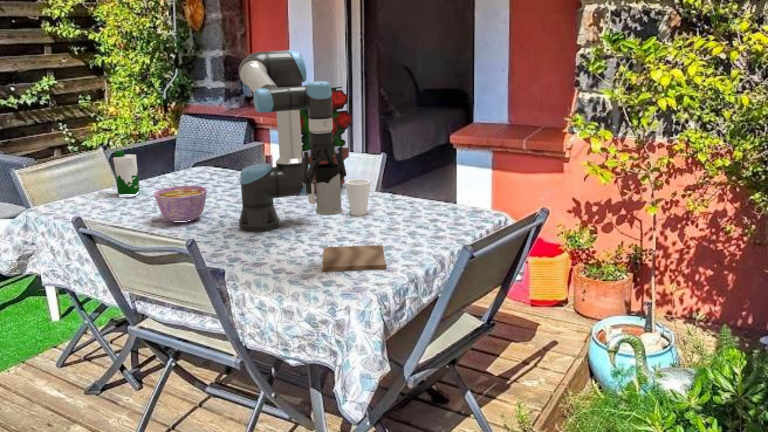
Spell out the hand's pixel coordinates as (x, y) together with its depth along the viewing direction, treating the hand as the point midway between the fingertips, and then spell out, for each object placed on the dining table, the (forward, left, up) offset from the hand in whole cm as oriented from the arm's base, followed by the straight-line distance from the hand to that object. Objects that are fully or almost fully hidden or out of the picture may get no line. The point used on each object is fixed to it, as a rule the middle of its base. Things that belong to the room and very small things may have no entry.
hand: (324, 200), depth 251 cm
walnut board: (+9, -2, -20) cm, 22 cm away
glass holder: (-1, -1, -3) cm, 4 cm away
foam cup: (+12, +54, -20) cm, 59 cm away
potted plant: (-3, +94, -20) cm, 97 cm away
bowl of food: (-57, +54, -20) cm, 81 cm away
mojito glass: (-89, +97, -20) cm, 134 cm away
